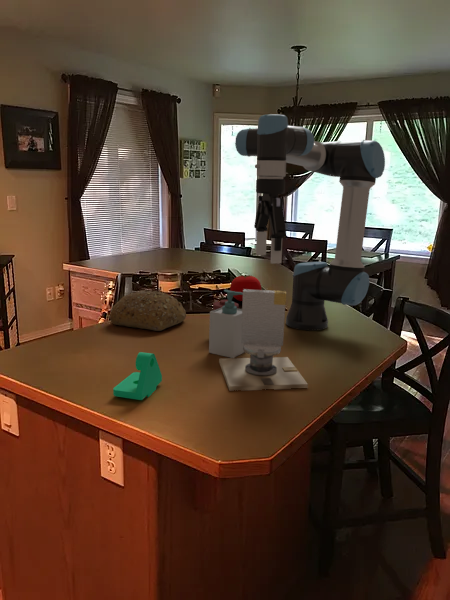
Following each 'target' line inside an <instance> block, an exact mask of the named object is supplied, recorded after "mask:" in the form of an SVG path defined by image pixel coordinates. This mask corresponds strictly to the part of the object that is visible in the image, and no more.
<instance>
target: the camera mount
mask: <svg viewBox="0 0 450 600" xmlns="http://www.w3.org/2000/svg"><path fill="white" fill-rule="evenodd" d="M135 369H136V370H137V371H134V372H132V373H131V374H129V375H128V376H127V377H126V378H124V379H123V380H122V381H121V382H119V383H118V384H117V385H115V386H114V387H113V389H112V390H113V393H112V395H113V396H114V397H119V398H125V399H131V400H138V401H143V400H144V399H145V398H149V397H151V395H153V394H152V393H153V392H154V391H155V390H156V391H157V386H158V385H159V384H161V383H162V382H163V374H162V371H161V369H160V367H159V363H158V359H157V357H156V355H155V353H153V352H152V353H151V352H142V351H139V352H138V354H137V355H136V357H135ZM139 371H140V372H139ZM156 391H155V392H156ZM155 392H154V393H155ZM146 396H147V397H146Z"/></svg>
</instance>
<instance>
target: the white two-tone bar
mask: <svg viewBox="0 0 450 600" xmlns="http://www.w3.org/2000/svg"><path fill="white" fill-rule="evenodd" d="M286 303H287V291H286V290H272V289H271V290H270V289H269V290H267V289H266V290H265V289H262V290H252V289H244V290H243V302H242V304H241V305H242V307H241V309H242V331H241V343H243V351H244V353H245V354H248V355H255V356H257V357H259V358H264V356H273V357H274V356H277V355H279V354H280V353H281V351H282V349H281V348H282V347H283V346H284V335H285V333H284V332H285V320H286V317H285V316H286V315H285V314H286V305H287V304H286Z"/></svg>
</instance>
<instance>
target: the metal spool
mask: <svg viewBox="0 0 450 600" xmlns="http://www.w3.org/2000/svg"><path fill="white" fill-rule="evenodd" d="M249 355H250V354H249ZM273 357H274V356H264V358H259V357H257V356H255V355H250V357H249V358H250V364H247V365H246V366H245V371H246V372H247V373H249V374H251V375H254V376H271V375H274V374H275V373H276V372H277V368H276V366H274V365H272V363H273Z"/></svg>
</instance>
